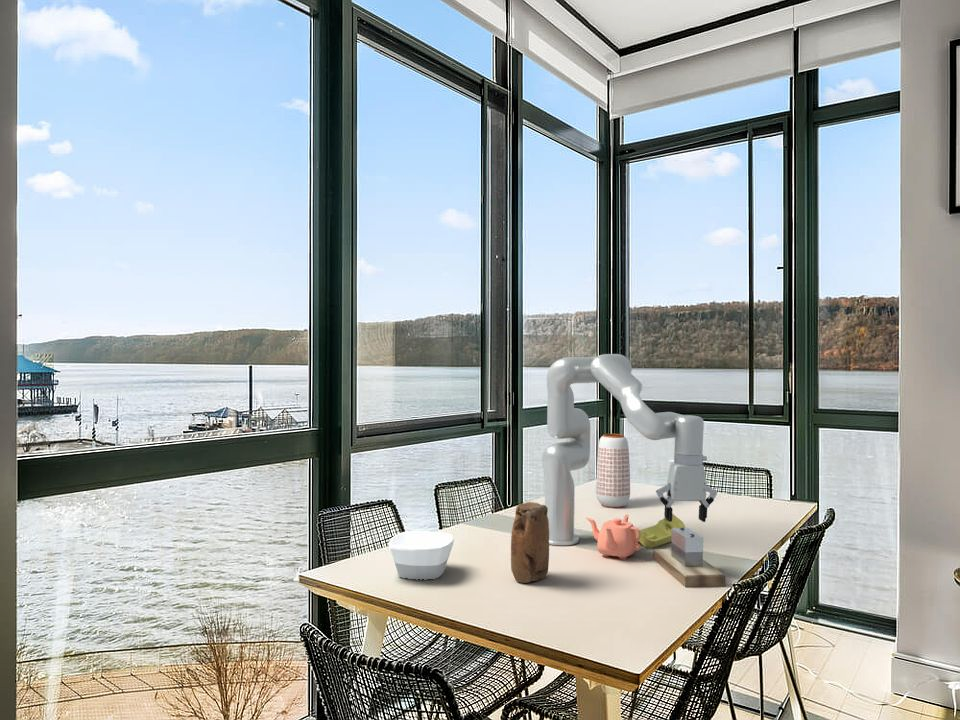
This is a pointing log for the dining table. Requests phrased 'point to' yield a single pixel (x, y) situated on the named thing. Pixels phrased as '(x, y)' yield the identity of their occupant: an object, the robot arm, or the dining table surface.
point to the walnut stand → (689, 571)
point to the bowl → (421, 554)
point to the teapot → (616, 538)
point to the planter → (613, 471)
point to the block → (530, 542)
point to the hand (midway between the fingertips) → (685, 520)
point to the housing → (687, 547)
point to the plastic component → (659, 532)
